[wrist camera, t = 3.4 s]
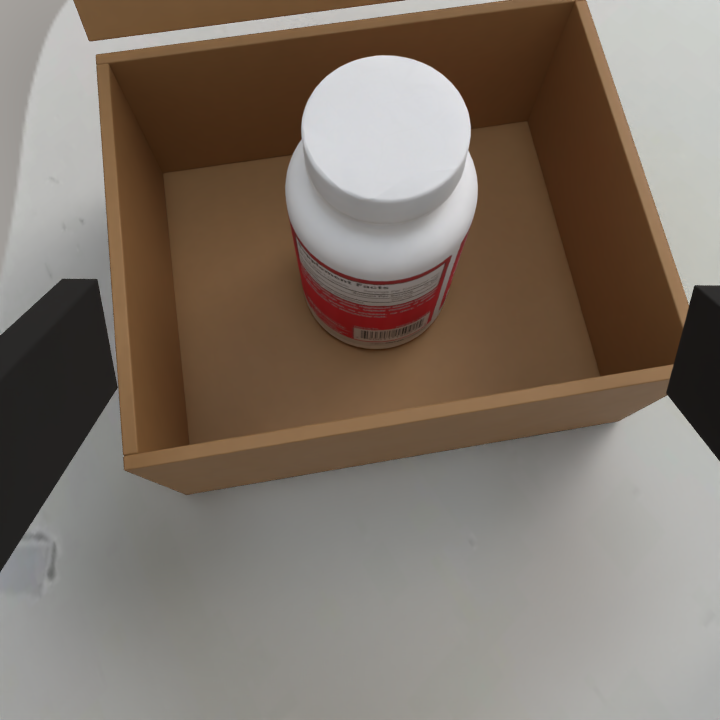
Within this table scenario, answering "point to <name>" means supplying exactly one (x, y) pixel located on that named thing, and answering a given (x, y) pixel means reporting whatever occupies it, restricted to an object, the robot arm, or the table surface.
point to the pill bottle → (381, 198)
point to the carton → (282, 276)
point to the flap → (189, 13)
